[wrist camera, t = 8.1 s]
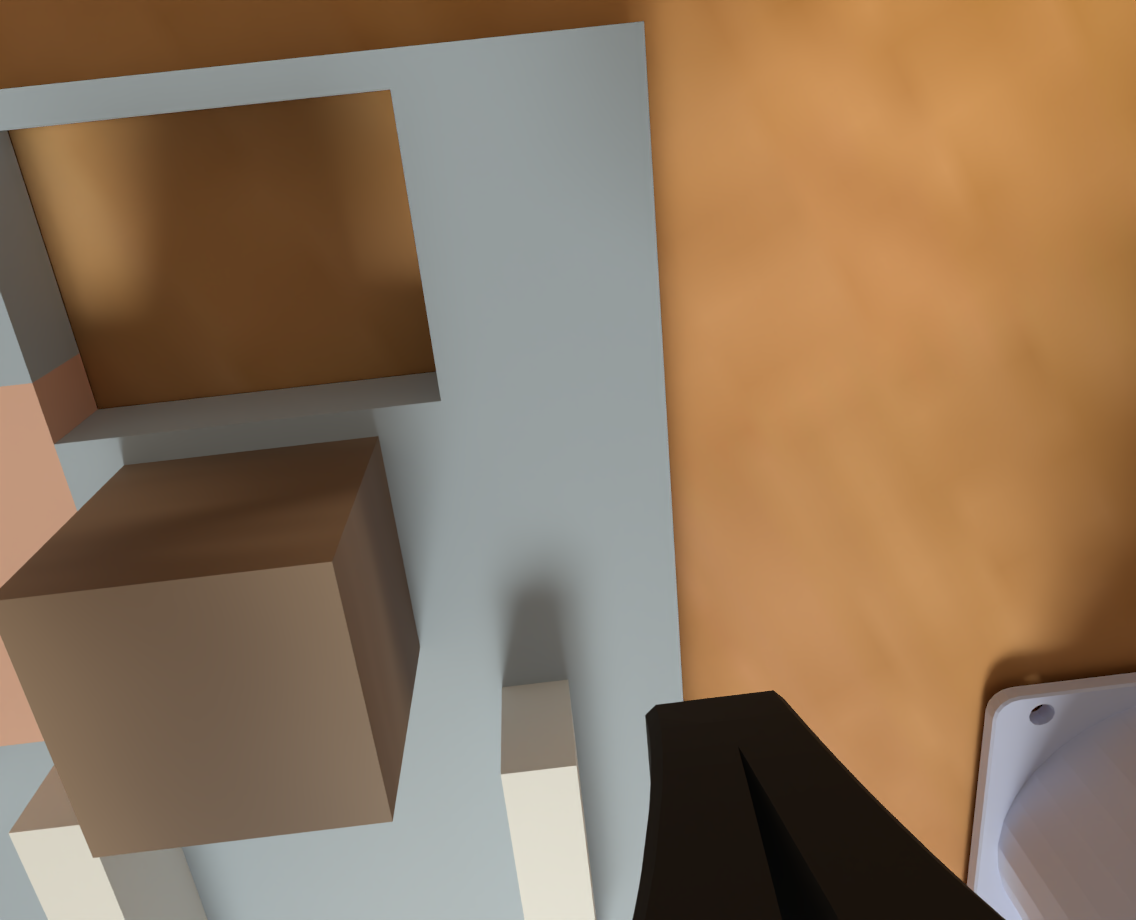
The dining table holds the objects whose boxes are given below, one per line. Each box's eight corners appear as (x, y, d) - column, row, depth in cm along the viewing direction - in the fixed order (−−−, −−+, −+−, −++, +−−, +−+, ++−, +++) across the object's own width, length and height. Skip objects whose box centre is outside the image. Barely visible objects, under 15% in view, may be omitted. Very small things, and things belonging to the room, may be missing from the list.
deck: (629, 28, 13) (671, 9, 10) (695, 1062, 23) (728, 1239, 19) (-311, 127, 13) (-604, 143, 10) (147, 1131, 23) (81, 1322, 19)
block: (378, 435, 14) (332, 561, 10) (419, 647, 16) (392, 821, 12) (123, 465, 14) (-13, 601, 10) (191, 674, 16) (93, 857, 12)
